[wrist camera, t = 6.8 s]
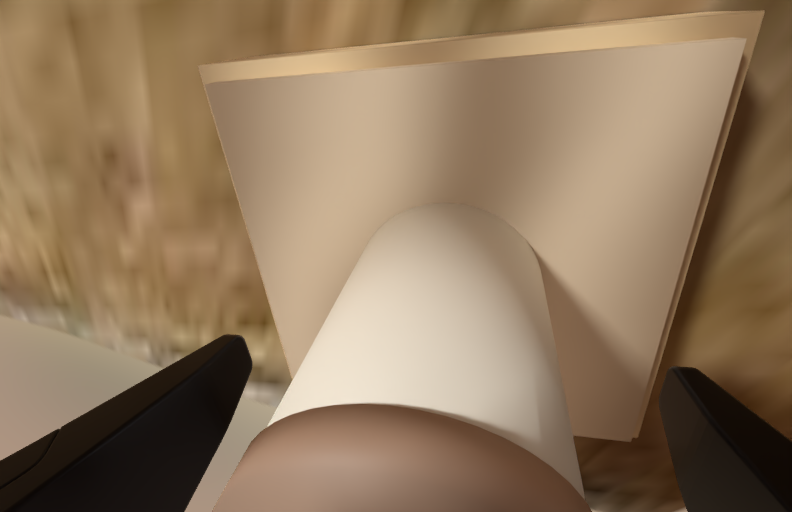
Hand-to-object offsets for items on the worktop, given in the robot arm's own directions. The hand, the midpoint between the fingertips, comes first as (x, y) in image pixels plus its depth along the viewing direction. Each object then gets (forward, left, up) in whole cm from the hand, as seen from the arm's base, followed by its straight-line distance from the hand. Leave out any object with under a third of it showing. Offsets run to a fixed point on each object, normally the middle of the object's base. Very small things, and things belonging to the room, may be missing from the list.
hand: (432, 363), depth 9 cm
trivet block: (0, 0, -6) cm, 6 cm away
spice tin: (0, 0, -3) cm, 3 cm away
